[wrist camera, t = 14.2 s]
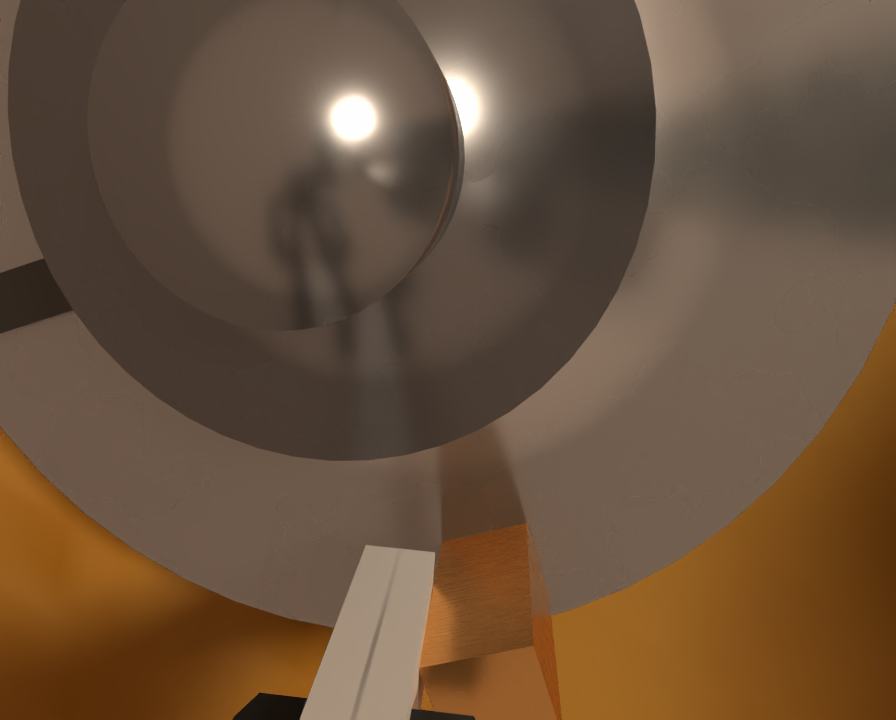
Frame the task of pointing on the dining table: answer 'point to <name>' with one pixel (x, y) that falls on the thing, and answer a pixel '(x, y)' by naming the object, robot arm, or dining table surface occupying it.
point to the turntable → (564, 396)
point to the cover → (335, 201)
